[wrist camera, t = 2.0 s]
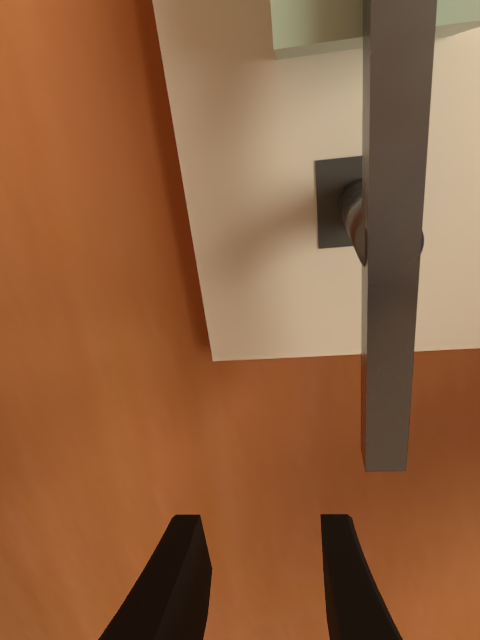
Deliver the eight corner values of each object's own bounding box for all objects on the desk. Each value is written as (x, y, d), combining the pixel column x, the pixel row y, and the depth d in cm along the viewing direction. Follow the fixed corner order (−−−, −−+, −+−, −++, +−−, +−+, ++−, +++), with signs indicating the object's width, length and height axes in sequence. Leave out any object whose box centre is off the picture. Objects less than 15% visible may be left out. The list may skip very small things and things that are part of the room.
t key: (393, -20, 12) (454, -83, 8) (381, 375, 18) (412, 471, 14) (333, -11, 13) (360, -67, 8) (341, 377, 18) (358, 471, 14)
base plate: (966, -463, 9) (1043, -525, 8) (680, 324, 17) (703, 338, 16) (118, -254, 12) (104, -284, 11) (216, 348, 20) (212, 362, 19)
